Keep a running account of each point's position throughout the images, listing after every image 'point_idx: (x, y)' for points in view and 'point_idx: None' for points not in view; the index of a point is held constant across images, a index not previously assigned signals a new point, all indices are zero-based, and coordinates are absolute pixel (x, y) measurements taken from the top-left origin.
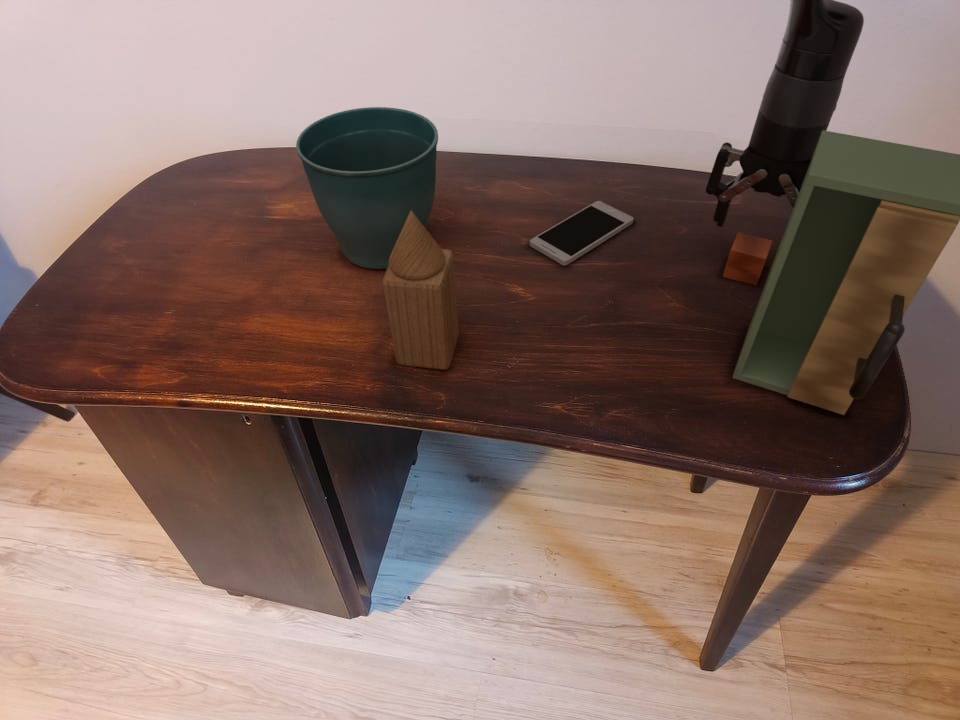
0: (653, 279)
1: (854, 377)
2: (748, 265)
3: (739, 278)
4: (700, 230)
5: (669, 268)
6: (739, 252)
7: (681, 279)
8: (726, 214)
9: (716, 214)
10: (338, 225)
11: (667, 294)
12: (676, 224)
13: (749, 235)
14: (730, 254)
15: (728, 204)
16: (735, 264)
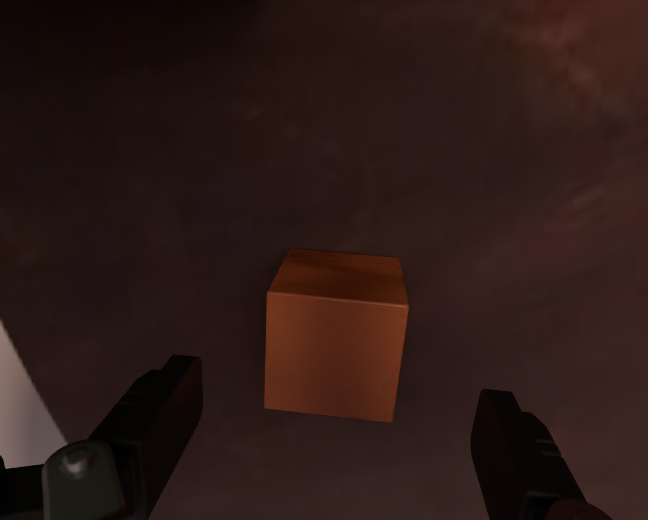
0: (644, 161)
1: None
2: (327, 277)
3: (345, 257)
4: None
5: (584, 245)
6: (372, 301)
7: (537, 198)
8: (484, 458)
9: (542, 440)
10: None
11: (587, 88)
12: None
13: (348, 414)
14: (403, 296)
15: (526, 489)
16: (372, 277)
